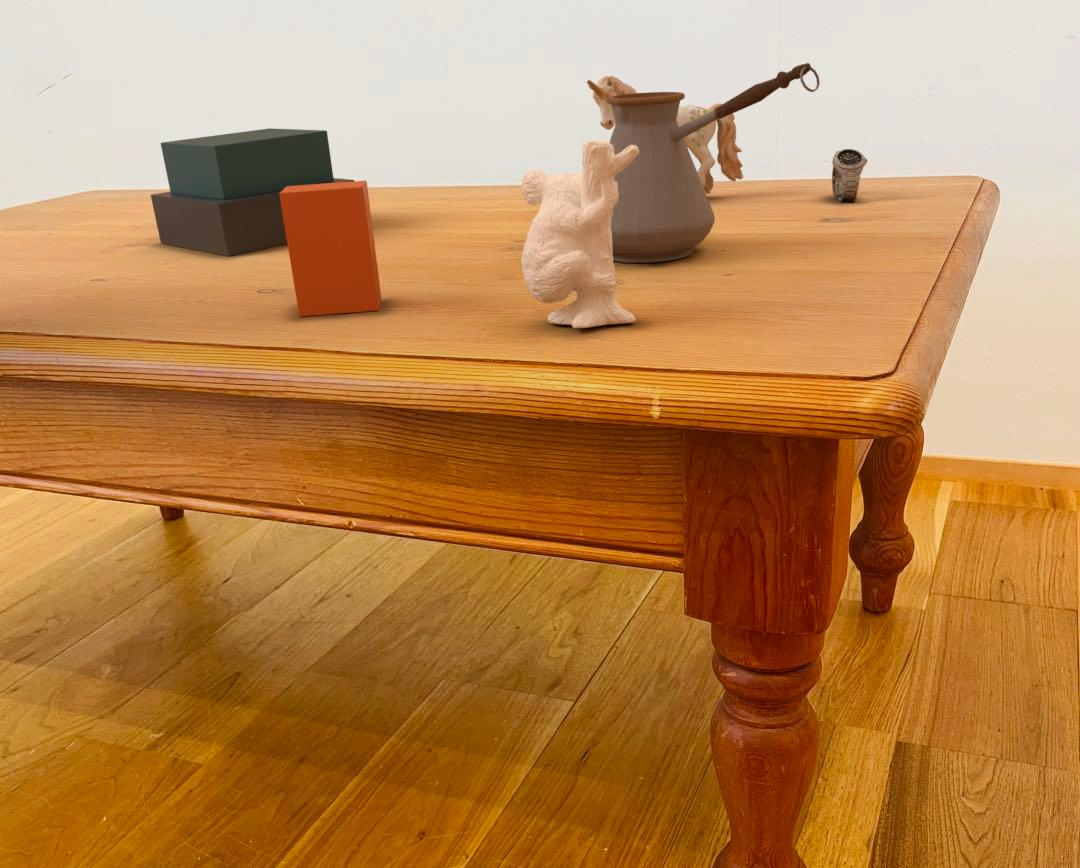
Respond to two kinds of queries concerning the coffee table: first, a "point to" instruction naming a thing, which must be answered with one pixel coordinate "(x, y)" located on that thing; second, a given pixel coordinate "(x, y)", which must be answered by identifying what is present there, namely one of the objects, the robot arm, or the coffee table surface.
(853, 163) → the wristwatch
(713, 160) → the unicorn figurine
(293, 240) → the orange block
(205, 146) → the box stack
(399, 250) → the coffee table surface
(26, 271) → the coffee table surface
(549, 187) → the koala figurine
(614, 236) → the coffee pot
